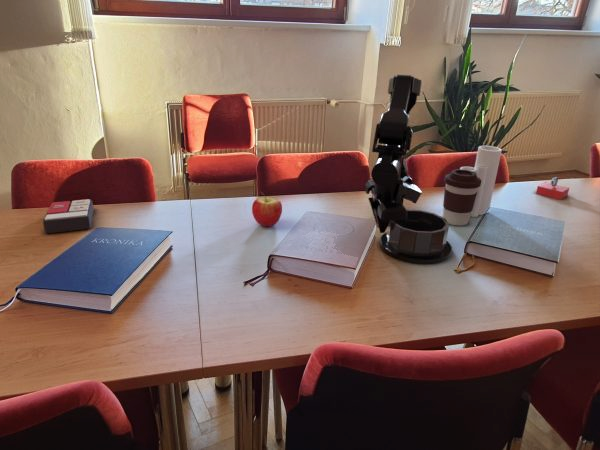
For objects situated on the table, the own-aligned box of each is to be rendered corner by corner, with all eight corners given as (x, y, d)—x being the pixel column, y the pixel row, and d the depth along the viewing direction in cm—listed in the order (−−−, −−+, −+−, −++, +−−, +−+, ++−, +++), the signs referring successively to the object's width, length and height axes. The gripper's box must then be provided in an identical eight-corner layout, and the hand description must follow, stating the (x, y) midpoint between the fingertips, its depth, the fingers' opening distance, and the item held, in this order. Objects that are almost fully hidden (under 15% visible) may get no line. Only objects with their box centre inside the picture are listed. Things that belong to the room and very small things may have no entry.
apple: (249, 220, 128) (248, 187, 124) (277, 217, 131) (277, 185, 127) (255, 231, 121) (255, 197, 117) (285, 228, 123) (286, 194, 119)
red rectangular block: (535, 193, 156) (540, 176, 153) (543, 189, 160) (547, 172, 157) (560, 199, 150) (565, 182, 148) (567, 195, 154) (572, 178, 152)
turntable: (366, 238, 119) (367, 234, 118) (421, 228, 126) (422, 224, 125) (406, 269, 104) (407, 265, 103) (466, 257, 110) (467, 252, 110)
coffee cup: (475, 229, 126) (485, 179, 120) (439, 226, 128) (447, 176, 121) (470, 216, 135) (479, 169, 129) (436, 213, 136) (444, 166, 130)
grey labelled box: (91, 197, 131) (88, 213, 118) (94, 211, 133) (90, 228, 120) (50, 201, 128) (41, 218, 115) (53, 215, 129) (45, 233, 116)
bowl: (378, 254, 108) (381, 230, 105) (372, 230, 121) (374, 208, 118) (450, 257, 107) (455, 233, 105) (436, 232, 121) (440, 210, 118)
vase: (478, 205, 143) (490, 145, 135) (494, 214, 137) (508, 150, 129) (449, 209, 139) (460, 147, 131) (464, 218, 133) (477, 153, 125)
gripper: (434, 186, 98) (423, 247, 105) (409, 160, 115) (401, 214, 122) (385, 186, 97) (377, 248, 104) (367, 159, 114) (361, 214, 121)
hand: (380, 230), depth 113 cm, fingers closed on bowl, 2 cm apart
